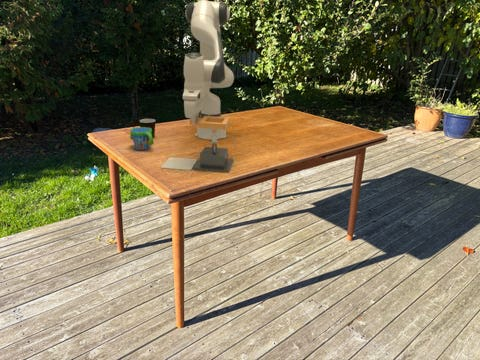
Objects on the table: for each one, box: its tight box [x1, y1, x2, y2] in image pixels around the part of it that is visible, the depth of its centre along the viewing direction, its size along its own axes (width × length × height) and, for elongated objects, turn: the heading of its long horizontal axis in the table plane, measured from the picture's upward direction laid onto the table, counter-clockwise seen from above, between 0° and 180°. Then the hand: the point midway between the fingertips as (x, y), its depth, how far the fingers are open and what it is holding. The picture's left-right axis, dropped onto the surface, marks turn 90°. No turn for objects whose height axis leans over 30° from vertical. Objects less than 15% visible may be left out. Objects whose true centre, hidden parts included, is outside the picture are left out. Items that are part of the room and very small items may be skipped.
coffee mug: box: [132, 118, 156, 139], centre depth 209 cm, size 12×9×10 cm
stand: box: [193, 129, 234, 174], centre depth 170 cm, size 16×16×20 cm
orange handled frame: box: [189, 116, 231, 131], centre depth 167 cm, size 12×17×2 cm
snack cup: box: [129, 126, 155, 151], centre depth 191 cm, size 16×10×10 cm
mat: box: [160, 156, 199, 172], centre depth 174 cm, size 14×14×1 cm
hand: (194, 123), depth 168 cm, fingers closed on orange handled frame, 3 cm apart
